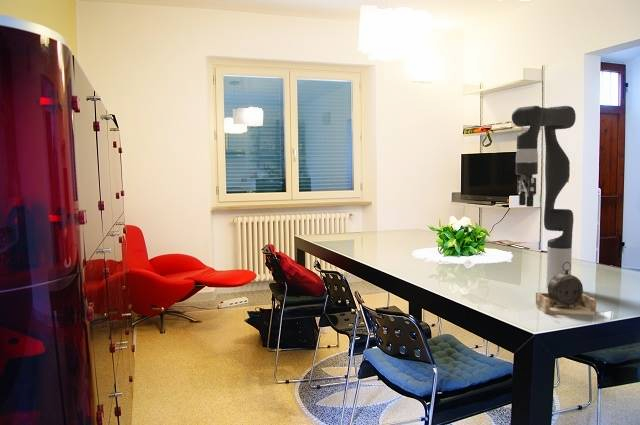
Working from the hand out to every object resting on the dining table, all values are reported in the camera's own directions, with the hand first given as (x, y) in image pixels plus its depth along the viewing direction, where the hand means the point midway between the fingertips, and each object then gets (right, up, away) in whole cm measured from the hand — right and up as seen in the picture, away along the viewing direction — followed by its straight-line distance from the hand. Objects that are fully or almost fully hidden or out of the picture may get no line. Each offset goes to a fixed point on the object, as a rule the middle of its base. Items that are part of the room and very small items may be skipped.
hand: (525, 205), depth 186 cm
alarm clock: (+10, -36, -10) cm, 39 cm away
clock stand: (+10, -37, -9) cm, 39 cm away
